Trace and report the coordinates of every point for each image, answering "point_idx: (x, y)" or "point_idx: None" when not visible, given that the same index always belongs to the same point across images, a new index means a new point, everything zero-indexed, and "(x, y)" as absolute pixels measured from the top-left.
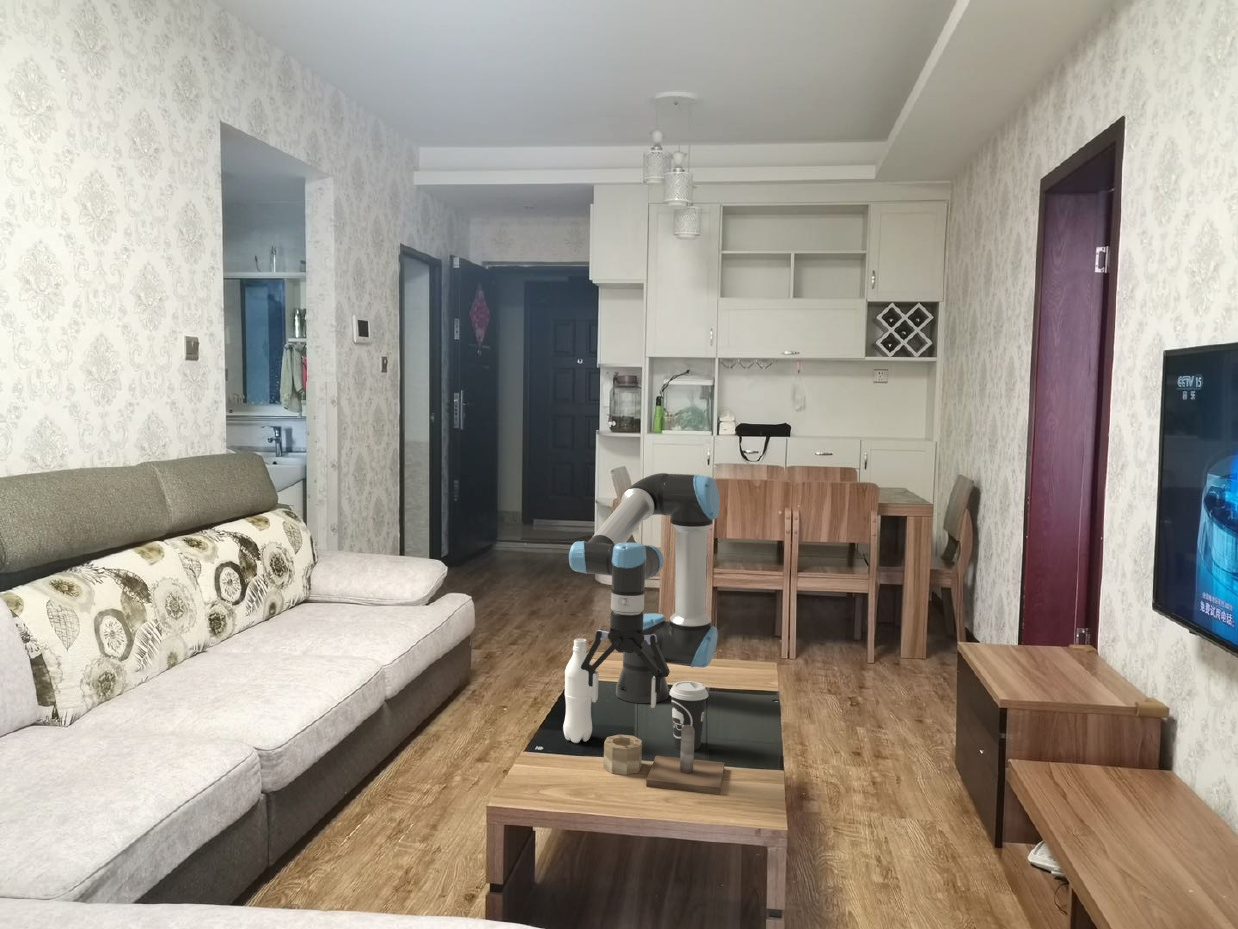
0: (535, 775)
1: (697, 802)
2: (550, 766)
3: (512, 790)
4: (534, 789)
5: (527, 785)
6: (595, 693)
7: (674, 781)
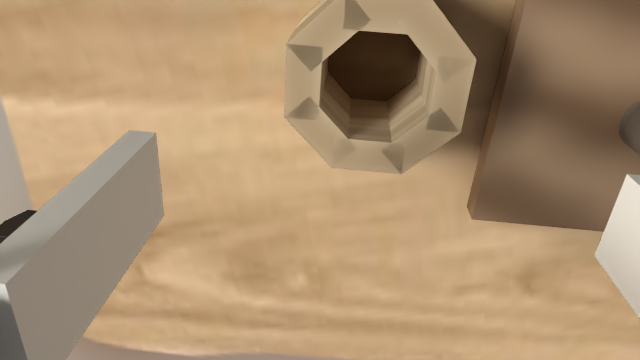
0: None
1: None
2: (100, 97)
3: None
4: None
5: None
6: (135, 256)
7: (576, 219)
